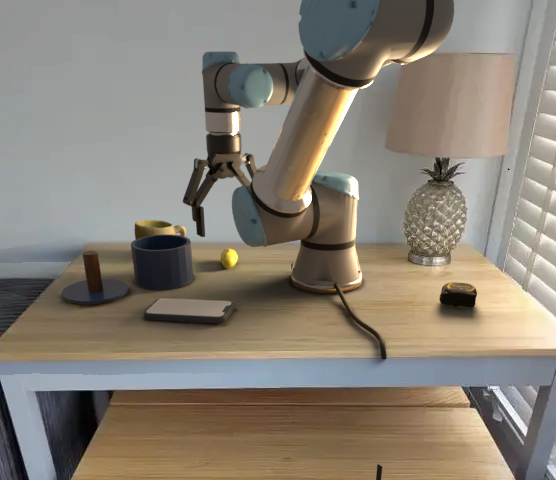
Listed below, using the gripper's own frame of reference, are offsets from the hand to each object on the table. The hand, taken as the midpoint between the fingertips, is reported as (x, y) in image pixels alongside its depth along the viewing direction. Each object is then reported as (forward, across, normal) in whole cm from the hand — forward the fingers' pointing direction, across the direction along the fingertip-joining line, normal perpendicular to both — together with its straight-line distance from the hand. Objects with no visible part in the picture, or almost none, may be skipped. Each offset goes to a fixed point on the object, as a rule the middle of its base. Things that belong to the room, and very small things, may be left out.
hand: (227, 231), depth 141 cm
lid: (+7, +33, +2) cm, 33 cm away
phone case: (+8, +21, +22) cm, 32 cm away
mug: (+8, +10, -16) cm, 20 cm away
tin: (+8, +17, +1) cm, 19 cm away
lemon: (+8, 0, 0) cm, 8 cm away
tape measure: (+8, -25, +48) cm, 55 cm away
